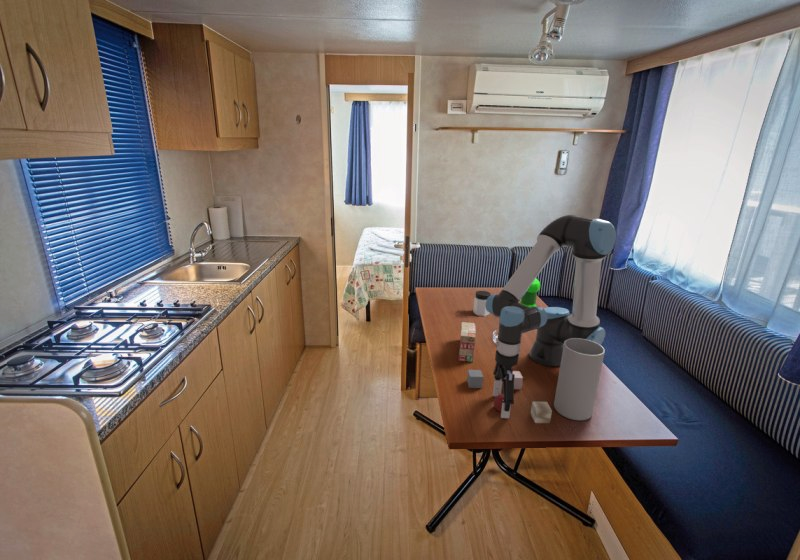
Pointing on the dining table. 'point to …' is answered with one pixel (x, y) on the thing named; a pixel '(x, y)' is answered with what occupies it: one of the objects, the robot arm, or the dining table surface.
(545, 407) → the birch block
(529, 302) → the plastic bottle
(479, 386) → the slate grey block
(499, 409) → the fruit
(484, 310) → the jar
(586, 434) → the dining table surface
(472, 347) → the stack of blocks
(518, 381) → the dusty rose block
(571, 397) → the cylinder vase
